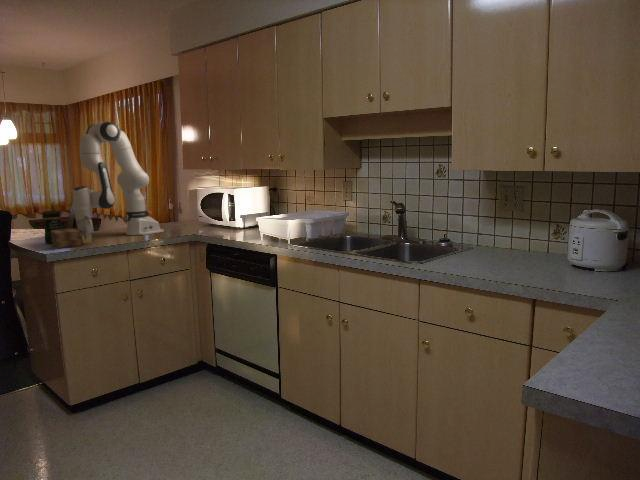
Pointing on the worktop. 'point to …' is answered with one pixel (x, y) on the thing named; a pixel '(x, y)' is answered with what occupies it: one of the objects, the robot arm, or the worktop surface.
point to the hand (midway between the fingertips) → (86, 239)
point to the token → (85, 239)
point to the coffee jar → (51, 223)
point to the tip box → (66, 238)
